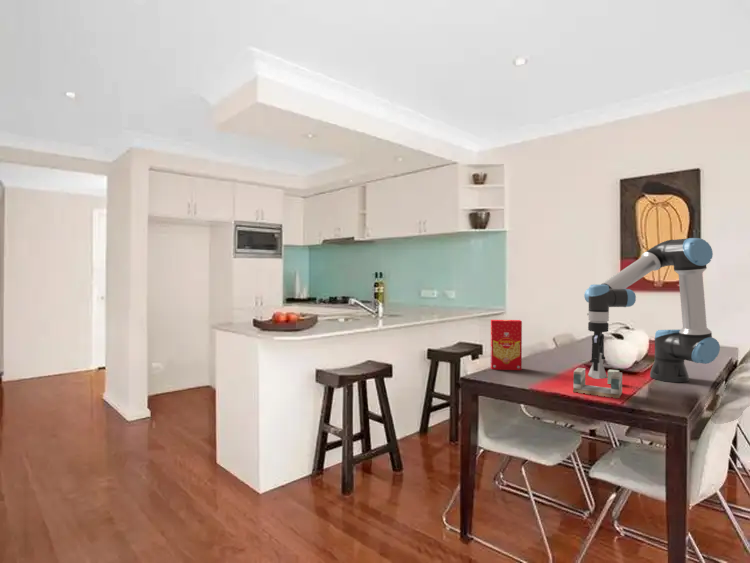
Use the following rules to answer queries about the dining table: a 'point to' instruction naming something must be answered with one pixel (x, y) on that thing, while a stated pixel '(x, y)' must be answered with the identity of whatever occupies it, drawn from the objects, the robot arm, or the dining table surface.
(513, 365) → the food packaging
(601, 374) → the flask
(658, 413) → the dining table surface
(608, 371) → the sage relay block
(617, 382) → the grey u-shaped holder
